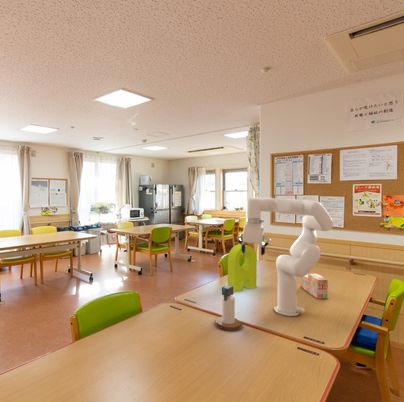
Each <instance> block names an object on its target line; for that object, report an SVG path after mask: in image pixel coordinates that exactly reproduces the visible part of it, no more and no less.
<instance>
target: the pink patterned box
mask: <svg viewBox="0 0 404 402" xmlns="http://www.w3.org/2000/svg"><path fill="white" fill-rule="evenodd" d="M328 281H329V280H328V278H325V277H324V276H322V275H320V274H318V273H307V274H306V275H305V276H303V277H300V287H301V289H303V290H304V291H306V292H307V293H309V294H310V295H312V296H313V297H314V298H315V299H316V300H327V299H328V288H329V287H328V286H329V285H328V283H329V282H328Z"/></svg>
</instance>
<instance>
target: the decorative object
mask: <svg viewBox="0 0 404 402" xmlns="http://www.w3.org/2000/svg"><path fill="white" fill-rule="evenodd" d="M243 254H244V256H245V257H244V262H243V264H242V265H241V264H240V259H241V256H242V255H243ZM257 257H258V256H257V253H256V250H255V248H253V247H252V246H250V245H247V244H245V253H242V245H241V244H240V243H238V244H235V245H234V246H232V247H231V249H230V250H229V253H228V255H227V285H231V286H234V288H233V293H237V292H241V291H243V287H244V288H246V289H249V290H250V289H254V288H257V279H258V278H257V274H258V272H257V271H258V269H257V268H258V267H257V266H258V265H257V263H258V262H257V261H258V258H257Z"/></svg>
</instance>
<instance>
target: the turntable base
mask: <svg viewBox="0 0 404 402" xmlns="http://www.w3.org/2000/svg"><path fill="white" fill-rule="evenodd" d="M214 325H215V327H216V328H217V329H219V330H222V331H225V332H238V331H240V330H241V329H242V327H243V323H242V322H241V321H240V326H239V327H237V328H233V329H230V328H224V327H221V326H219V325H218V324H217V319H215V321H214Z"/></svg>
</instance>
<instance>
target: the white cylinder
mask: <svg viewBox="0 0 404 402" xmlns="http://www.w3.org/2000/svg"><path fill="white" fill-rule="evenodd" d="M233 288H234V286H231V285H228V284H225V285H223V286H221V295H222V297H221V299H222V300H221V304H222V305H221V313H222V314H221V316H220V317H217V318H216V320H217V324H218V325H219V326H221V327H224V328H230V329H233V328H237V327H239V326H240V322H241V321H240V320H239V319H238V318H235V312H236V310H235V309H236V308H235V307H236V304H235V303H236V300H235V299H236V298H235V297H233V295H234V292H233Z"/></svg>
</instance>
